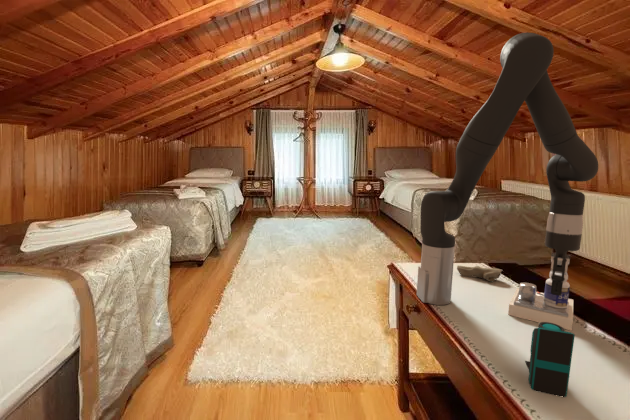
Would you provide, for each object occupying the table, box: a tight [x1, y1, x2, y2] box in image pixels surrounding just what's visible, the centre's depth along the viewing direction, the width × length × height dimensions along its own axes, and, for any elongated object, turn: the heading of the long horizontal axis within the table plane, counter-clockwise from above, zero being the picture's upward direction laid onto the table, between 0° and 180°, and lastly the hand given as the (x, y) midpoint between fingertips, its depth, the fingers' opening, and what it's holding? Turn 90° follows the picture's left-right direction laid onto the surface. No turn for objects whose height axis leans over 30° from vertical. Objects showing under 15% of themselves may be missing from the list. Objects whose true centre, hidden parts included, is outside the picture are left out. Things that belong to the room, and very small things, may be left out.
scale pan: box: [514, 292, 569, 317], centre depth 92 cm, size 10×12×1 cm
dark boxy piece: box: [524, 322, 576, 398], centre depth 64 cm, size 6×12×10 cm
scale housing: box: [507, 287, 574, 331], centre depth 94 cm, size 16×14×4 cm
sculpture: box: [456, 265, 503, 282], centre depth 123 cm, size 7×5×15 cm
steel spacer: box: [518, 282, 537, 302], centre depth 94 cm, size 4×4×4 cm
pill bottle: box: [543, 270, 571, 308], centre depth 89 cm, size 5×5×9 cm
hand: (556, 290), depth 89 cm, fingers open, 7 cm apart
